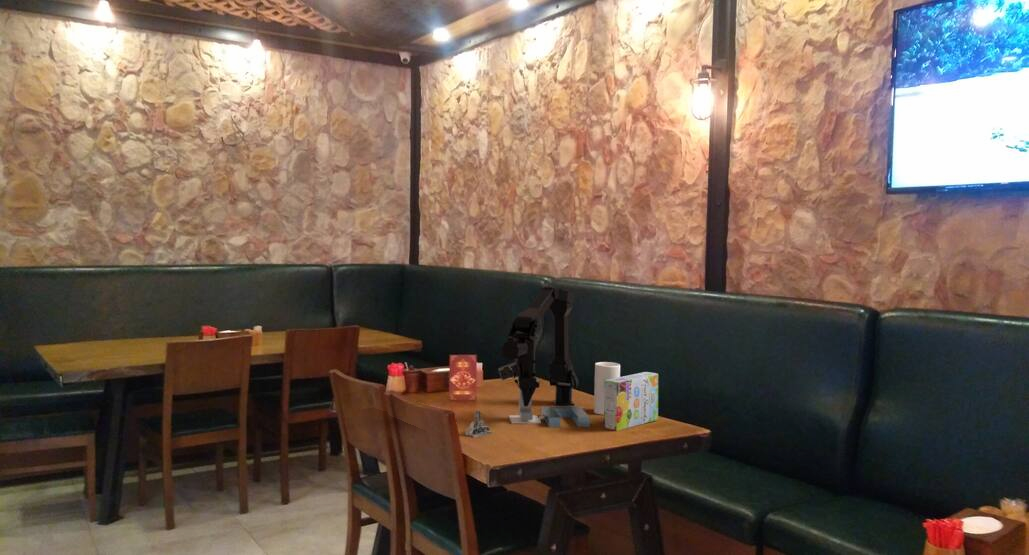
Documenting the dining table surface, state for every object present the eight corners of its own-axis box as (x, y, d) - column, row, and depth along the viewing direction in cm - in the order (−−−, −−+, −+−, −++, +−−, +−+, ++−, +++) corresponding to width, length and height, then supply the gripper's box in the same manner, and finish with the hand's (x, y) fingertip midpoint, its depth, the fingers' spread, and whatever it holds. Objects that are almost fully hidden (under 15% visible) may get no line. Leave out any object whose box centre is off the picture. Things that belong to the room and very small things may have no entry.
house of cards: (476, 428, 238) (476, 403, 237) (496, 434, 232) (496, 408, 231) (453, 434, 232) (453, 408, 231) (472, 440, 225) (473, 413, 225)
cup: (618, 415, 256) (619, 366, 255) (592, 414, 258) (593, 365, 257) (619, 410, 264) (621, 362, 263) (595, 408, 266) (596, 361, 265)
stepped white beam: (518, 414, 249) (519, 386, 249) (529, 414, 250) (530, 386, 249) (521, 420, 243) (521, 391, 242) (532, 419, 243) (533, 390, 243)
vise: (535, 415, 254) (535, 406, 254) (579, 415, 256) (579, 406, 256) (542, 427, 240) (542, 417, 239) (589, 427, 241) (589, 417, 241)
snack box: (644, 417, 255) (645, 371, 254) (658, 420, 251) (660, 373, 250) (602, 428, 240) (603, 379, 239) (616, 431, 236) (618, 381, 235)
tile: (508, 417, 252) (508, 415, 252) (536, 416, 253) (536, 415, 253) (511, 424, 243) (511, 422, 243) (540, 423, 244) (541, 422, 244)
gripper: (497, 350, 255) (496, 398, 256) (503, 360, 236) (502, 412, 238) (531, 350, 256) (530, 398, 257) (540, 360, 238) (539, 411, 239)
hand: (525, 404), depth 248 cm, fingers closed on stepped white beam, 3 cm apart
